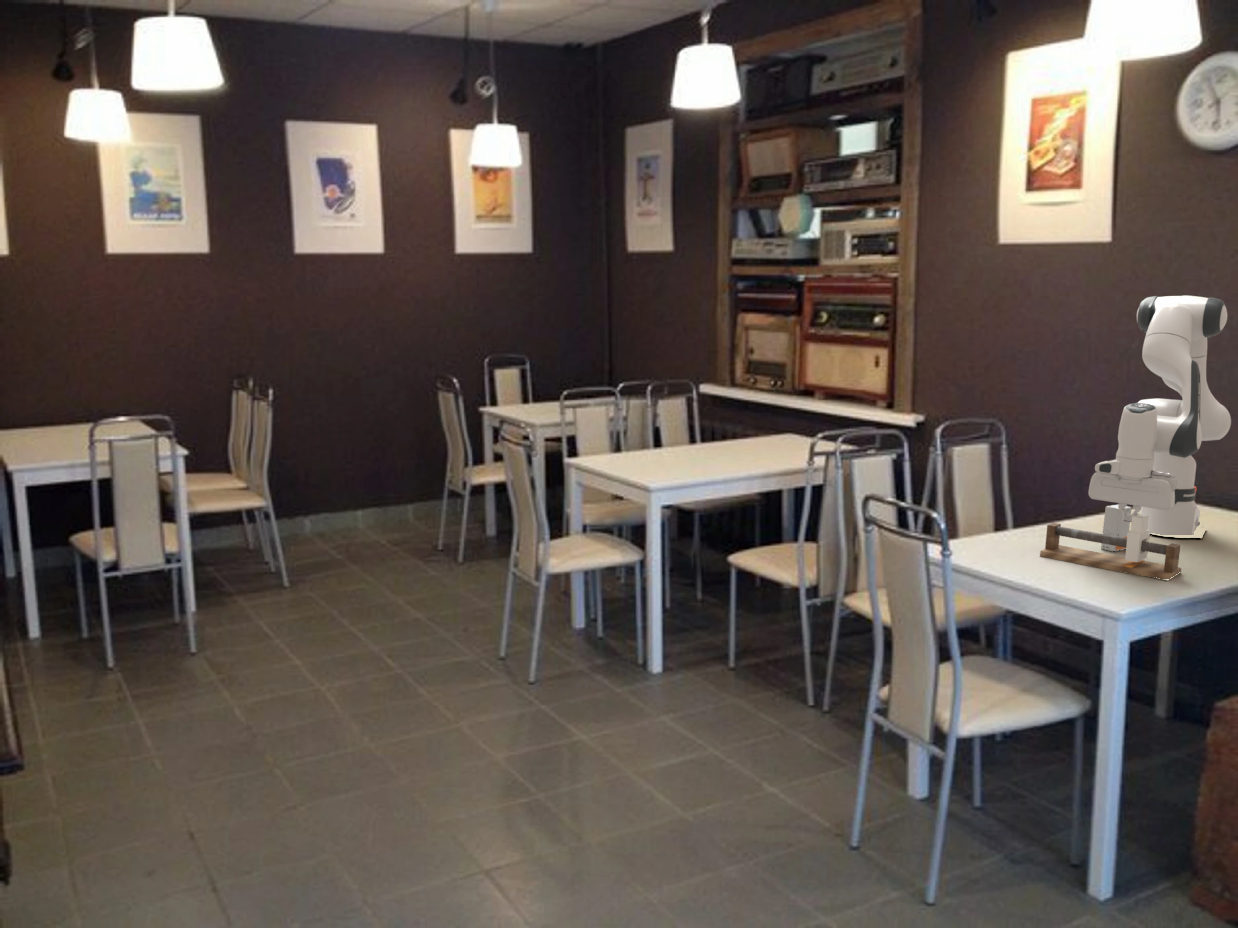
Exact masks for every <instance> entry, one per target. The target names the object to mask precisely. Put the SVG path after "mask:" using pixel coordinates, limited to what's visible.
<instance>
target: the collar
mask: <svg viewBox="0 0 1238 928" xmlns="http://www.w3.org/2000/svg"><path fill="white" fill-rule="evenodd" d="M1148 520H1149V515H1145V514H1141V513H1138V514H1137V515H1134V516H1132V522H1130V530H1129V532H1128V536H1127V545H1126V550H1125V556H1124V557H1125V560H1127V561H1133V562H1139V561H1141V560H1144V559H1147V558H1148V553H1149V552H1147V551H1142V550H1141V545H1142V541H1145V542H1150V536H1151V535H1150V530H1147V529H1148Z"/></svg>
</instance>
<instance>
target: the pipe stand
mask: <svg viewBox="0 0 1238 928" xmlns="http://www.w3.org/2000/svg"><path fill="white" fill-rule="evenodd" d="M1045 536H1046V537H1045V546H1044V547H1045V548H1043V549H1041V550H1040V552H1039V554H1040V555H1039V557H1041V556H1042V557H1043V558H1048V559H1052V560H1058V561H1062V562H1067V563H1072V564H1073V563H1074V564H1079V565H1083V566H1084V565H1085V566H1088V567H1094V568H1099V569H1104V570H1108V569H1109V571H1113V570H1114V571H1113V572H1118V571H1121V572H1120V573H1123V572H1127V573H1126V574H1129V573H1131V574H1130V575H1134V574H1137V575H1136V576H1139V575H1141V576H1140V577H1144V576H1148V577H1147V578H1149V577H1155V578H1156V577H1157V578H1160V579H1170V578H1171V577H1173V576H1175V575H1176V574H1178V573H1179V572H1181V573H1182V567H1180V566H1179V560H1180V550H1181V544H1178V543H1170V544H1168V545H1166V544H1163V543H1162V544H1161V543H1156V542H1150V541H1149V542H1145V541H1142V545H1141V550H1142V551H1147V552H1148V553H1153V554H1159V555H1164V557H1165V559H1164V564H1163V563H1157V562H1151V561H1146V560H1144V559H1143V560H1141V561H1139V562H1133V561H1127V560H1125V556H1124V557H1123V556H1119V555H1116V554H1115V555H1114V554H1108V553H1104V552H1098V551H1094V550H1092V551H1091V550H1087V549H1083V548H1078V547H1077V548H1076V547H1072V546H1071V547H1070V546H1067V545H1062V544H1061V545H1060V537H1065V538H1069V539H1071V538H1072V539H1077V540H1081V541H1082V540H1083V541H1087V542H1092V543H1098V544H1101V543H1103V544H1108V545H1114V546H1119V547H1125V548H1126V545H1127V538H1122V537H1117V536H1111V535H1105V534H1103V533H1100V532H1093V531H1087V530H1081V529H1075V528H1071V527H1070V528H1069V527H1064V526H1062V524H1061V523H1058V522H1052V523H1049V524H1047V525H1046V535H1045Z"/></svg>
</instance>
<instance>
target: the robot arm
mask: <svg viewBox="0 0 1238 928" xmlns="http://www.w3.org/2000/svg"><path fill="white" fill-rule="evenodd" d="M1227 321H1228V310H1227V306H1226V303H1224V301H1223V300H1222V299H1220V298H1217V297H1216V298H1215V297H1211V296H1209V297H1204V296H1195V295H1187V294H1185V295H1167V296H1166V295H1165V296H1159V295H1153V296H1148V297H1146V298H1144V299H1143V300H1142V301H1141V302H1140V304H1139V306H1138V309H1137V310H1136V323H1137V326H1138V328H1139V329H1140V331H1141V332H1142V333H1145V337H1144V341H1143V345H1142V353H1141V354H1142V355H1141V356H1142V357H1141V358H1142V361H1143V363H1144V365H1145V367H1146V368H1147V369H1148V370H1149V371H1150V372H1152V373H1153V374H1154V375H1156V376H1157V377H1160V378H1161V379H1162V381H1163V383H1164V384H1165V385H1166V386H1168V387H1169V388H1170V389H1173V390H1174V391H1175V392H1176V393H1177V392H1178V394H1179V395H1180V397H1181V398H1182V400H1181V399H1171V398H1160V397H1159V398H1156V397H1155V398H1145V399H1140V400H1139V401H1138V402H1135V403H1129V404H1127V405H1126V406H1124V408H1123V409H1122V413H1121V418H1120V421H1119V425H1118V431H1117V433H1118V434H1117V441H1118V449H1117V451H1116V453H1115V459H1109V460H1105V461H1101V462H1098V463H1096V464H1095V466H1094V470H1095V472H1094V473H1093V474H1092V476H1091V478H1090V482H1089V487H1088V496H1089V498H1090V499H1092V500H1096V501H1104V502H1110V503H1117V505H1118V504H1119V505H1118V508H1119V510H1120V512H1121V514H1122V521H1126V522H1130V523H1132V516H1134V515H1137V514H1145V515H1149V520H1148V529H1147V530H1150V533H1155V534H1160V535H1194V531H1195V530H1196V528H1197V527H1198V526H1199V525H1200V512H1201V511H1200V509H1199V507H1198V505H1197V504H1196V501H1195V500H1196V495H1197V494H1196V493H1197V490H1198V489H1197V486H1195V481H1196V471H1197V461H1196V460H1195V458H1194V457H1193V456H1192V455H1194V454H1195V453H1197V452H1198V451H1199V450H1200V447H1201V444H1202V442H1209V441H1219V440H1221V439H1223V438H1224V437H1225V436H1226V435H1228V433H1229V431H1230V429H1231V427H1232V426H1231V425H1232V418H1231V414H1230V412H1229V410H1228V409H1227V407H1226V406H1224V405H1223V404H1221V403H1220V402H1219V401H1218V400H1217V399H1216V398H1215V396H1214V395H1213V394H1212V392H1211V390H1210V388H1209V384H1208V382H1207V360H1208V357H1207V356H1208V339H1210V338H1211V337H1215V336H1217V335H1219V334H1220V333H1222V332H1223V329H1224V327H1225V326H1226V324H1227ZM1128 505H1130V506H1132V509H1133V510H1134V511H1133V512H1131V514H1127V512H1126V509H1125V507H1127V506H1128Z"/></svg>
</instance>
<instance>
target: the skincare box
mask: <svg viewBox="0 0 1238 928" xmlns="http://www.w3.org/2000/svg"><path fill="white" fill-rule="evenodd" d="M1118 505H1119V503H1117V504H1112V505H1107V506H1105V508H1104V509H1105V511H1104V520H1103V526H1102V528H1103V529H1102V534H1105V535H1111V536H1117V537H1122V538H1127V536H1128V532H1130V528H1131V522H1126V521H1122V514H1121V512H1120V510H1119V508H1118ZM1125 509H1126V512H1127V514H1132V509H1133V506H1128V505H1127V507H1125ZM1100 549H1101V550H1105V551H1109V552H1113V551H1115V552H1120V551H1125V550H1124V549H1126V548H1125V547H1119V546H1114V545H1108V544H1103V543H1100ZM1119 550H1120V551H1119Z"/></svg>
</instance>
